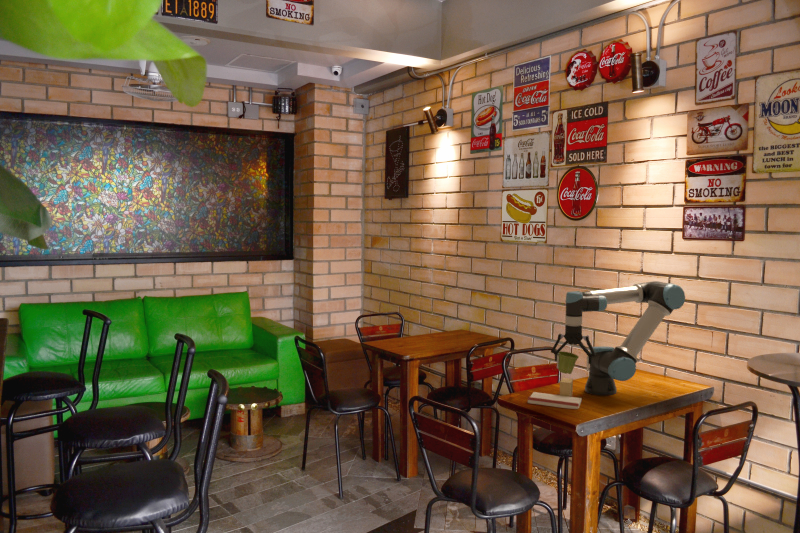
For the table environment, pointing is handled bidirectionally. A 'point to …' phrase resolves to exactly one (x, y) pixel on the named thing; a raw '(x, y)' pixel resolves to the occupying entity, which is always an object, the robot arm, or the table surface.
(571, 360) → the plant pot
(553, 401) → the shelf board
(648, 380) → the table surface
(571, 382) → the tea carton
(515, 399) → the table surface
